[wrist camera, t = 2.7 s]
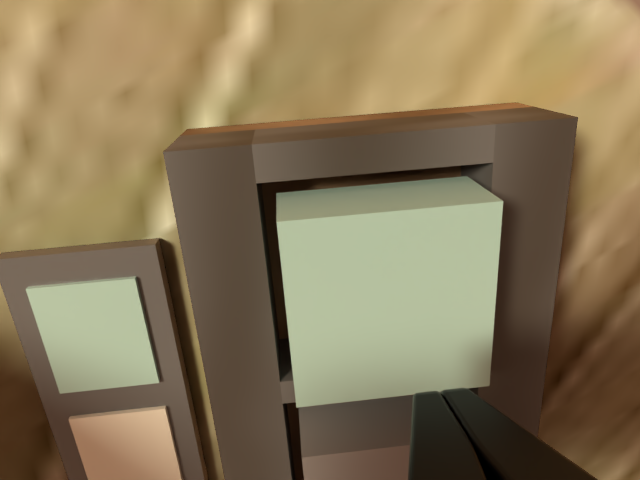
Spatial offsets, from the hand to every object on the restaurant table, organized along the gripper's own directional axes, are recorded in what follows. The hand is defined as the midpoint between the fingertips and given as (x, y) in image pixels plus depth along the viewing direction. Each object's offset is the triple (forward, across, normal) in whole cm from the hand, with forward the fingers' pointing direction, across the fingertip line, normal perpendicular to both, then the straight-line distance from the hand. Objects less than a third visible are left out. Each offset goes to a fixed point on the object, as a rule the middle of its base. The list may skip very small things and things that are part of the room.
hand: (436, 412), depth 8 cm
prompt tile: (+8, +8, +4) cm, 12 cm away
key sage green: (+5, 0, 0) cm, 5 cm away
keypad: (+8, 0, +6) cm, 10 cm away
